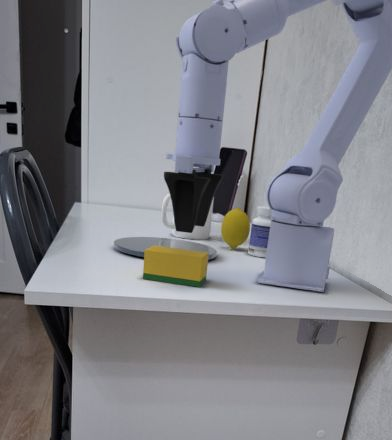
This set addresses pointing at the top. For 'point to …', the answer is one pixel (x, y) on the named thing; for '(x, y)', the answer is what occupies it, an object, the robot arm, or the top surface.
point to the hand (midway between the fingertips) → (190, 228)
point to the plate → (142, 243)
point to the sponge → (175, 265)
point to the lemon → (235, 228)
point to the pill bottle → (260, 232)
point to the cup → (198, 231)
